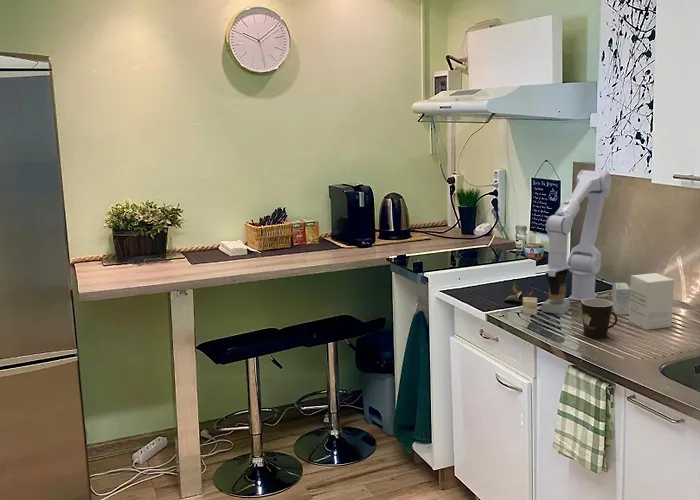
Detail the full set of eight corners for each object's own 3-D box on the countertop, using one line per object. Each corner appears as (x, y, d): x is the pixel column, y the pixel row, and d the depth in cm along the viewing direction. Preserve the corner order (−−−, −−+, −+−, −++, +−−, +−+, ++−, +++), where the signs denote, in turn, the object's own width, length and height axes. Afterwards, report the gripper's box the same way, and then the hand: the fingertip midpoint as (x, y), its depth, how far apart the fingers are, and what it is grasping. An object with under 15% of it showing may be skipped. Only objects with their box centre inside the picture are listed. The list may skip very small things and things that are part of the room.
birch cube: (522, 310, 232) (523, 297, 231) (536, 310, 231) (537, 297, 230) (522, 314, 228) (522, 301, 227) (536, 315, 227) (537, 301, 226)
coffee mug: (576, 330, 211) (577, 298, 209) (605, 329, 210) (607, 297, 208) (588, 344, 199) (589, 310, 197) (618, 343, 199) (620, 309, 197)
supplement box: (653, 318, 219) (656, 272, 216) (672, 327, 211) (675, 279, 208) (627, 321, 218) (630, 274, 214) (645, 330, 209) (648, 281, 206)
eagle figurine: (535, 298, 241) (514, 289, 247) (532, 284, 236) (510, 275, 242) (522, 313, 238) (501, 303, 244) (518, 300, 233) (497, 290, 240)
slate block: (548, 306, 236) (549, 298, 235) (569, 309, 232) (569, 301, 231) (541, 312, 230) (542, 303, 230) (563, 315, 226) (563, 306, 226)
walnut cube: (551, 295, 233) (552, 282, 232) (565, 297, 231) (565, 283, 230) (548, 299, 229) (548, 285, 228) (562, 300, 227) (562, 287, 226)
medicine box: (629, 315, 223) (631, 289, 222) (615, 314, 224) (616, 288, 222) (625, 307, 231) (626, 282, 229) (611, 307, 232) (612, 282, 230)
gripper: (565, 258, 219) (563, 299, 222) (575, 248, 231) (573, 288, 234) (542, 256, 222) (541, 297, 225) (553, 247, 234) (552, 286, 237)
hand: (556, 292), depth 230 cm, fingers closed on walnut cube, 4 cm apart
